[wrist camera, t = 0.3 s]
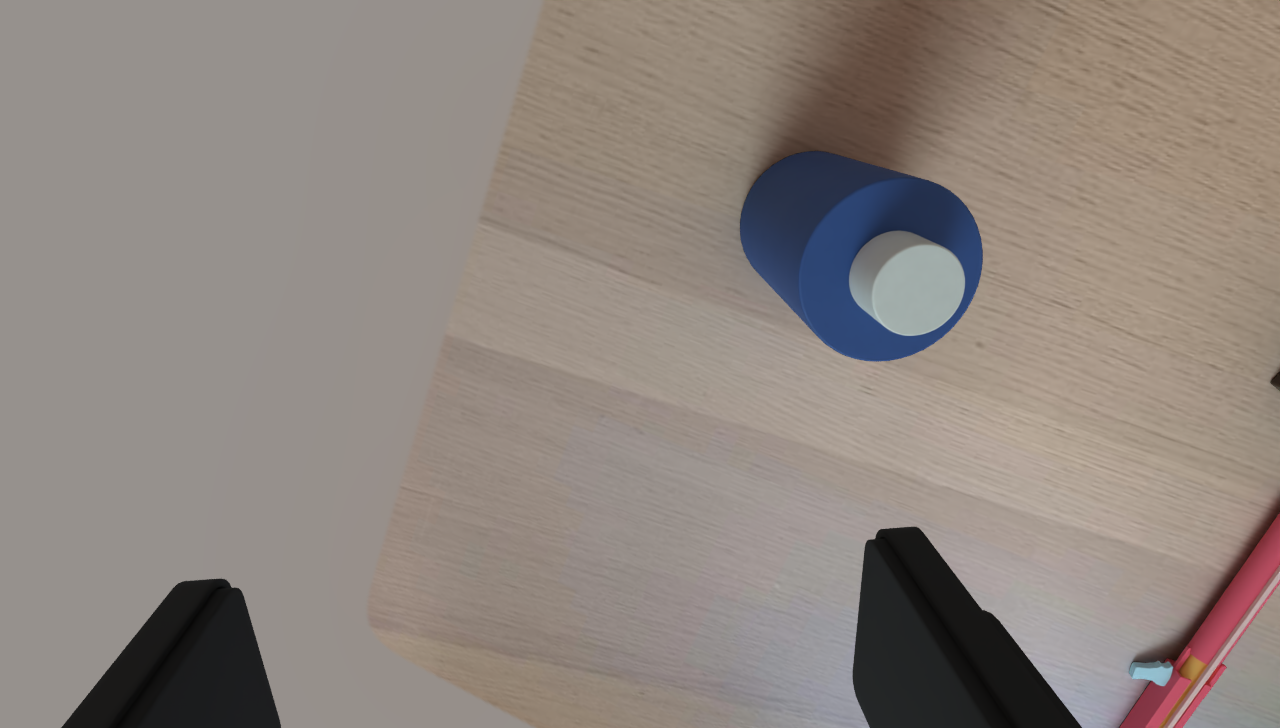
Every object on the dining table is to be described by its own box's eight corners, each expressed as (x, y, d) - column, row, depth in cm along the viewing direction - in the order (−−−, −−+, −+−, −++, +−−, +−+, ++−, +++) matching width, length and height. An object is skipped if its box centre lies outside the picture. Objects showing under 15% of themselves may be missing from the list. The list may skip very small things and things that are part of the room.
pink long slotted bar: (1038, 785, 47) (1111, 816, 46) (1048, 813, 45) (1125, 845, 44) (1247, 470, 39) (1339, 502, 38) (1271, 486, 37) (1368, 521, 36)
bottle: (712, 209, 31) (779, 272, 20) (831, 120, 30) (963, 140, 20) (786, 315, 33) (880, 421, 23) (900, 236, 32) (1052, 308, 22)
